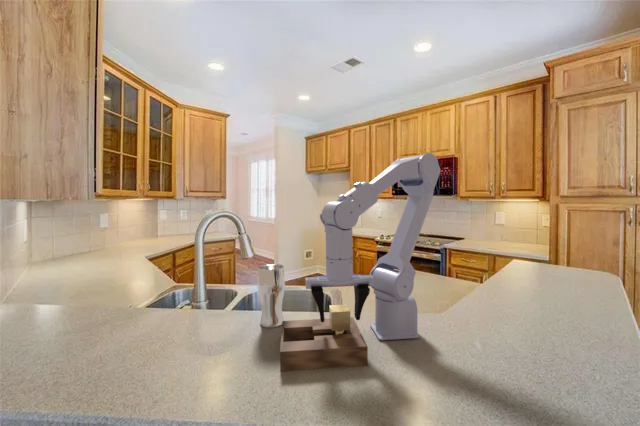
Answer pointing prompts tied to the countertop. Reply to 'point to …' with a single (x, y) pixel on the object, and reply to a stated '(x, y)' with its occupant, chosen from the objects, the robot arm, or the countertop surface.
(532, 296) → the countertop surface
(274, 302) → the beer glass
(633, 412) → the countertop surface
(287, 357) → the keyhole board
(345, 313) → the brass peg
